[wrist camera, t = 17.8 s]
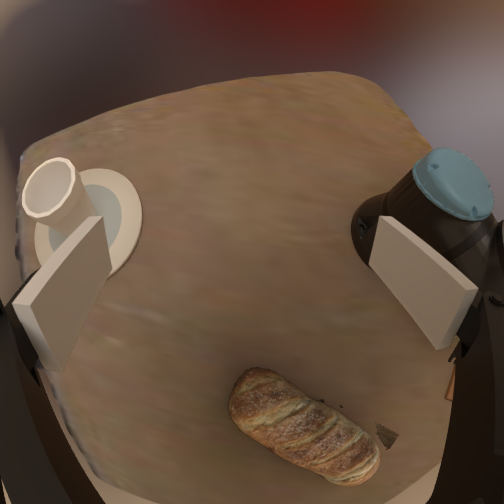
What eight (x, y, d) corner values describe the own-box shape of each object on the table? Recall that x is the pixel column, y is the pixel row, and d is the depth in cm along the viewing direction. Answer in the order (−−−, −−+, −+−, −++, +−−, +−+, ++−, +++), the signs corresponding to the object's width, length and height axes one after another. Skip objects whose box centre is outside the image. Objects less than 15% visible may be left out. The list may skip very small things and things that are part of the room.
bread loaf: (182, 427, 38) (174, 451, 29) (237, 336, 42) (243, 339, 33) (355, 489, 37) (377, 512, 28) (403, 414, 42) (433, 426, 33)
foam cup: (98, 252, 42) (62, 219, 30) (54, 246, 41) (14, 216, 29) (111, 199, 45) (84, 156, 33) (68, 197, 44) (36, 158, 32)
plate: (106, 152, 49) (104, 148, 48) (168, 229, 46) (166, 226, 45) (24, 222, 43) (21, 219, 42) (70, 313, 40) (66, 312, 38)
